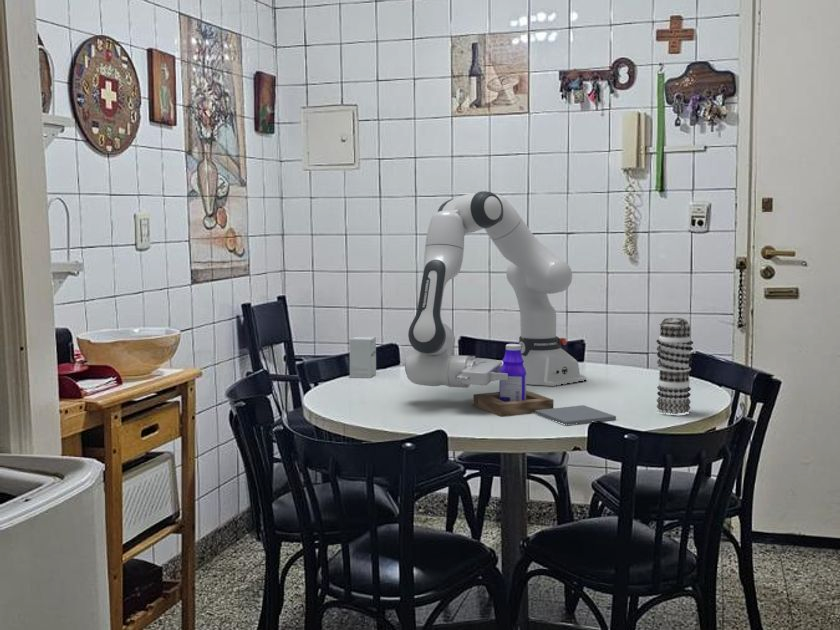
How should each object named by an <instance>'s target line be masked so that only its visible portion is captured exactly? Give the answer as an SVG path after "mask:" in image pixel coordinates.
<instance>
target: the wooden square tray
mask: <svg viewBox="0 0 840 630" xmlns="http://www.w3.org/2000/svg"><path fill="white" fill-rule="evenodd" d="M472 399H473V400H472V401H473V406H475V407H478V408H480V409H483V410H484V411H487V412H490V413H491V414H494V415H497V416H498V417H499V416H500V417H506V416H507V415H509V416H516V414H518V415H523V414H522V413H527V414H533V413H532V412H535V410H543V409H553V408H554V402H555V401H554V399H553V398H549V397H547V396H543V395H541V394H539V393H535V392H533V391H530V390H527V389H526V400H520V401H510V402H504V401H502V400H499V391H495V392H494V391H493V392H485V393H483V392H482V393H475V394H473V397H472ZM507 417H508V416H507Z"/></svg>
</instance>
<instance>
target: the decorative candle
mask: <svg viewBox="0 0 840 630" xmlns="http://www.w3.org/2000/svg"><path fill="white" fill-rule="evenodd" d="M658 325H659V326H660V327H659V328H660V329H659V330H660V331H659V332H660V334H659V339H657V340H656V343H657V344H658V346H657V347H656V350H657V353H656V356H657V357H658V359H657V361H656V363H657V364H658V366H657V370H659V372H658V373H659V378H658V386H657V390H658V391H657V393H656V394H657V395H658V397H657V398H656V402H657V404H656V408H657V411H656V413H657V412H659V413H663V414H664V413H665V414H666V413H670V414H671V413H672V414H678V413H685V412H688V411H690V410H691V405H690V404H691V401H692V400H690V399H689V397H691V393H690V391H691V389H692V388H691V387H690V385H691V384H690V371H691V370H692V368H691V367H690V365H691V364H693V361H692V360H690V359H692V358H693V355H692V354H691V353H690V352H691V351H692V350H693V349H694V347H692V345H693V344H694V341H693V340H692V339H691V337H692V336H691V334H690V333H691V326H692V324H690V323H689V322H688V320H687V319H686V318H684V317H683V318H681V317H667V318H664V319H663V320H662V322H661V323H658Z"/></svg>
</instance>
